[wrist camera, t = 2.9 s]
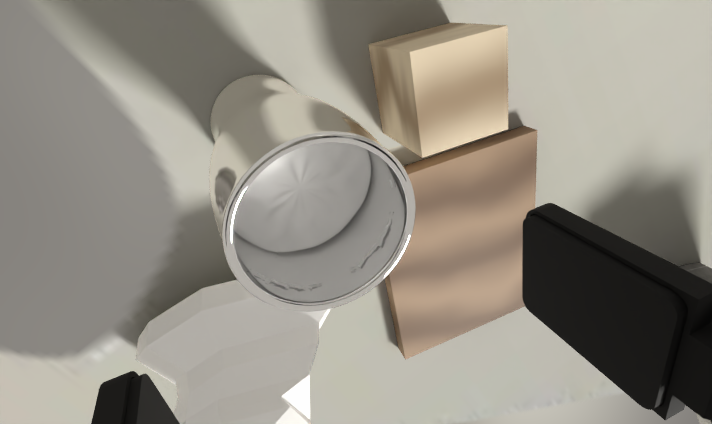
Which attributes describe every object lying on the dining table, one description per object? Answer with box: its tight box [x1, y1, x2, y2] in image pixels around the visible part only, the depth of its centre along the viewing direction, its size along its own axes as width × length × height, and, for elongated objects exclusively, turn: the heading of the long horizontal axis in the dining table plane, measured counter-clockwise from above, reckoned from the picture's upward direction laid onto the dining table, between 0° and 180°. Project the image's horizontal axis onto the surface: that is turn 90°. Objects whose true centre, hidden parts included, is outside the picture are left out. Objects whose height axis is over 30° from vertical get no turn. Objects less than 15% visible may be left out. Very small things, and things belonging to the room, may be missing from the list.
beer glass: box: [209, 75, 416, 312], centre depth 20 cm, size 7×7×15 cm
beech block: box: [368, 23, 508, 158], centre depth 26 cm, size 6×6×6 cm
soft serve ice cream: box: [135, 280, 331, 424], centre depth 27 cm, size 12×15×14 cm
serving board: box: [385, 126, 537, 359], centre depth 36 cm, size 18×14×2 cm
